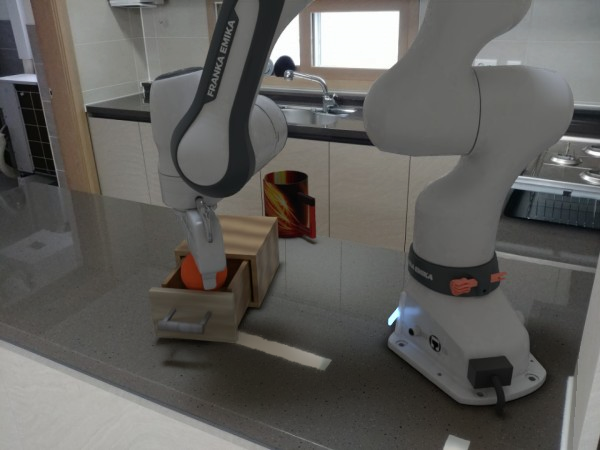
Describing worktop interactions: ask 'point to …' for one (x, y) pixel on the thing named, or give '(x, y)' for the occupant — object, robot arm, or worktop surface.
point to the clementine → (198, 275)
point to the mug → (290, 203)
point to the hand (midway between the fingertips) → (203, 272)
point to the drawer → (202, 305)
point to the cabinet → (248, 248)
